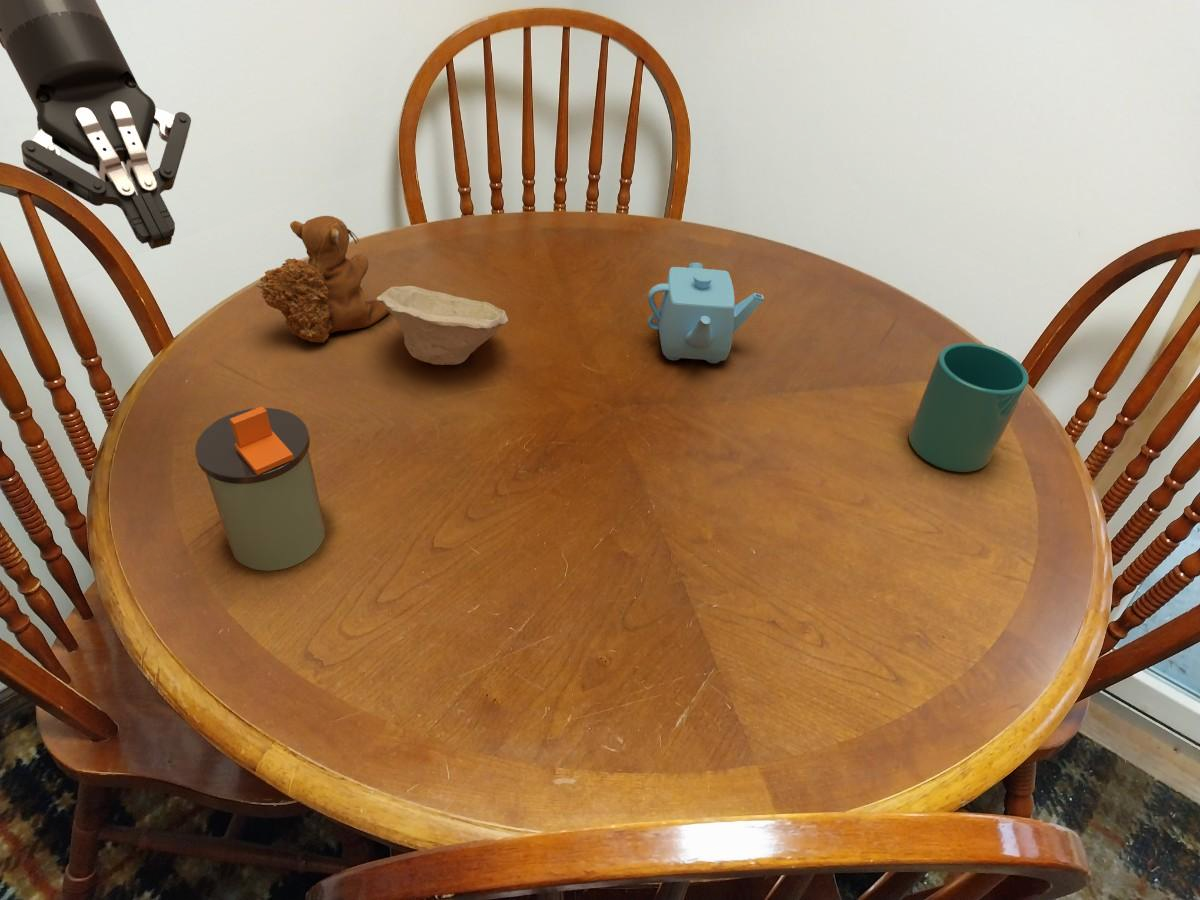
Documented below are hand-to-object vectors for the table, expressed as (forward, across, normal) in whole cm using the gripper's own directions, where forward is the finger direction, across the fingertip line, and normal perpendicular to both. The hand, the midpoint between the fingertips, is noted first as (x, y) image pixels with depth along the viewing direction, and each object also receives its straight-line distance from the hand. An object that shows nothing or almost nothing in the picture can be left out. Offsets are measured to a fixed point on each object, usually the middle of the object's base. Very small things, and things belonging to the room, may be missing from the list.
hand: (162, 242), depth 67 cm
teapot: (+27, +55, +10) cm, 62 cm away
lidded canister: (+25, 0, +12) cm, 28 cm away
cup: (+48, +65, -11) cm, 81 cm away
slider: (+18, 0, +1) cm, 18 cm away
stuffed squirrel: (+4, +21, +32) cm, 39 cm away
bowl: (+14, +29, +22) cm, 39 cm away
